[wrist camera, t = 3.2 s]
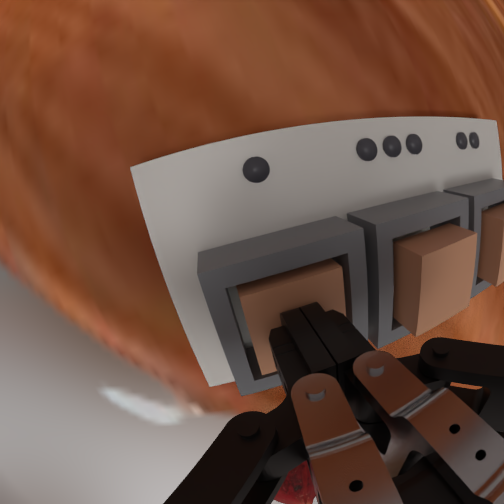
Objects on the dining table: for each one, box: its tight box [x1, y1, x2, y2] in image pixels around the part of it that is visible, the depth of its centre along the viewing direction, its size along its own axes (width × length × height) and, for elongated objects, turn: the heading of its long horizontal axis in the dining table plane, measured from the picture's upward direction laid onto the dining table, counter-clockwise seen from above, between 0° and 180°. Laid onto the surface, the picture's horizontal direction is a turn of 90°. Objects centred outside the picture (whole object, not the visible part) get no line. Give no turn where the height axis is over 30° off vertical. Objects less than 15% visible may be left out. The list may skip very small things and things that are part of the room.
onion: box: [274, 461, 316, 504], centre depth 16 cm, size 6×6×8 cm
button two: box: [477, 203, 504, 287], centre depth 12 cm, size 4×4×2 cm
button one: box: [236, 258, 346, 375], centre depth 12 cm, size 4×4×2 cm
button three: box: [393, 223, 477, 337], centre depth 11 cm, size 4×4×2 cm
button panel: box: [130, 117, 504, 396], centre depth 13 cm, size 24×12×4 cm, turn 102°
